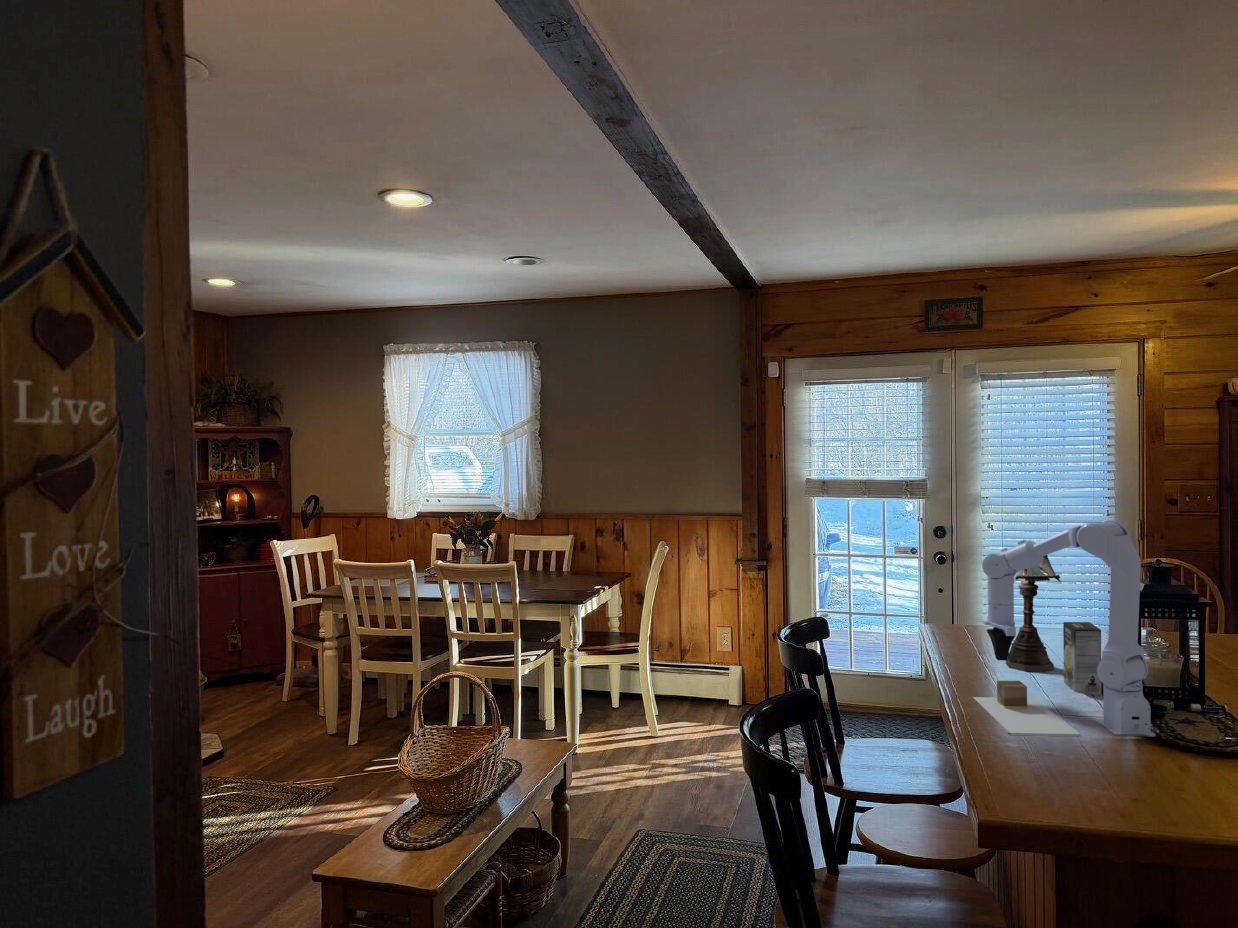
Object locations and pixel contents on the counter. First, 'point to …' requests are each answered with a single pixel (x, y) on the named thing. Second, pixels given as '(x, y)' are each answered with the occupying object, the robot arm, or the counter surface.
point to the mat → (1028, 719)
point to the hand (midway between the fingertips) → (1001, 659)
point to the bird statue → (1030, 623)
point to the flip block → (1012, 694)
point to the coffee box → (1082, 657)
